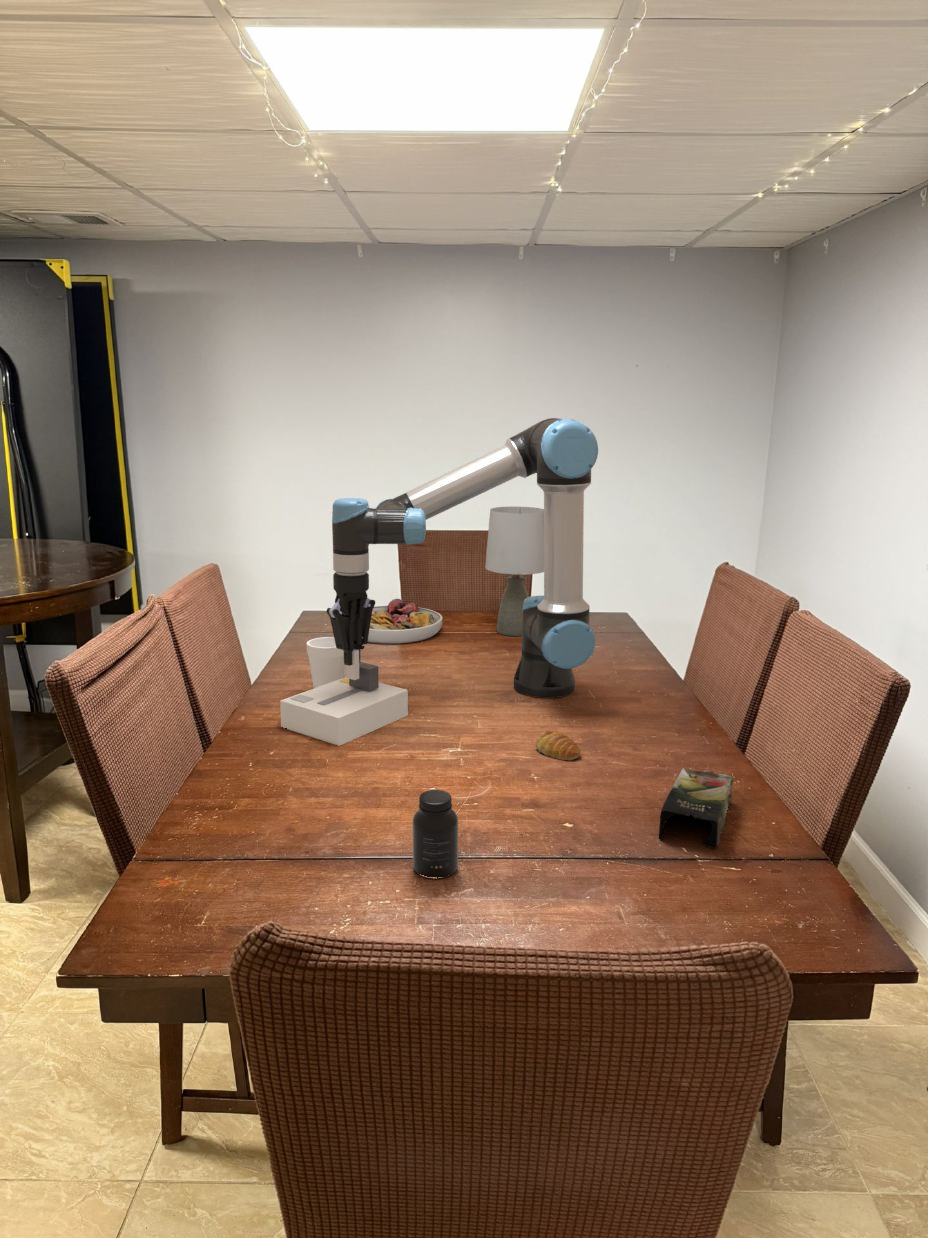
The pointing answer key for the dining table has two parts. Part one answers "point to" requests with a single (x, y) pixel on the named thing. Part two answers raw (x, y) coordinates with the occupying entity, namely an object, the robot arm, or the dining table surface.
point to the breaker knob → (366, 677)
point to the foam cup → (325, 661)
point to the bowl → (402, 623)
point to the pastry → (557, 746)
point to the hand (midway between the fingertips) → (352, 678)
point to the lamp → (514, 558)
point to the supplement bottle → (435, 835)
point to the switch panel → (343, 711)
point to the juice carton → (700, 800)
